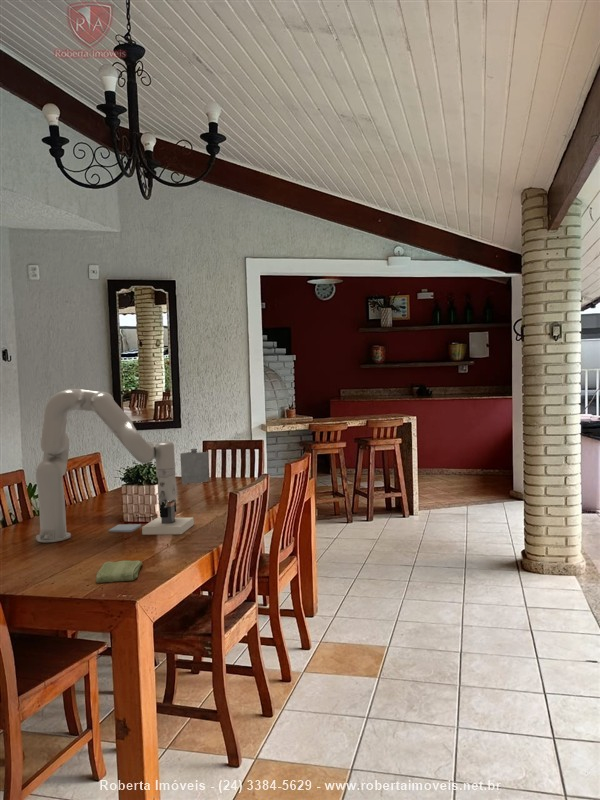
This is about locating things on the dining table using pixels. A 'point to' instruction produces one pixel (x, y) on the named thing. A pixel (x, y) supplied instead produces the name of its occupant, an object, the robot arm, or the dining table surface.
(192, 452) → the hip flask
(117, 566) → the washcloth
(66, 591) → the dining table surface
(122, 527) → the mat
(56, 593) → the dining table surface
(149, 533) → the white square slab
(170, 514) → the plug
